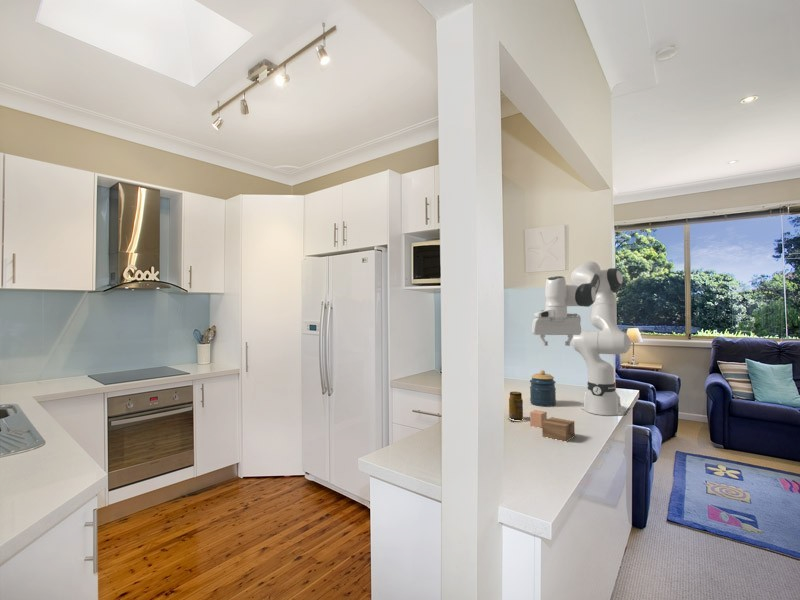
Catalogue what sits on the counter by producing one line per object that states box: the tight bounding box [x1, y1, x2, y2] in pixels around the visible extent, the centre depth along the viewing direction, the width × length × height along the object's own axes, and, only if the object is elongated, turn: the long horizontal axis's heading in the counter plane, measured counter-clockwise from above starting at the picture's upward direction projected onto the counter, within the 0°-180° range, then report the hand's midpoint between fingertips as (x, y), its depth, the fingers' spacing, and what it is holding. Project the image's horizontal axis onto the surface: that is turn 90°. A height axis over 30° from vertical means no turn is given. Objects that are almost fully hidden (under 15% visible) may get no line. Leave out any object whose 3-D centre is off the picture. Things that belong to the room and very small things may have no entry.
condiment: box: [508, 391, 527, 423], centre depth 178 cm, size 7×8×12 cm
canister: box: [529, 370, 557, 407], centre depth 207 cm, size 13×13×18 cm
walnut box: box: [541, 416, 576, 442], centre depth 153 cm, size 9×9×6 cm
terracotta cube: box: [529, 409, 548, 429], centre depth 167 cm, size 5×5×6 cm
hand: (556, 345), depth 168 cm, fingers open, 8 cm apart
